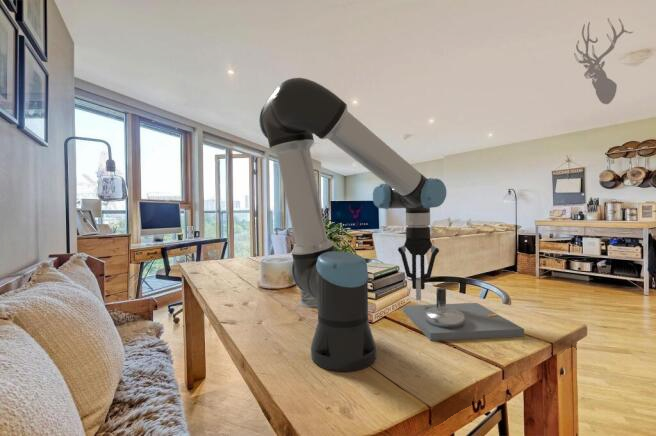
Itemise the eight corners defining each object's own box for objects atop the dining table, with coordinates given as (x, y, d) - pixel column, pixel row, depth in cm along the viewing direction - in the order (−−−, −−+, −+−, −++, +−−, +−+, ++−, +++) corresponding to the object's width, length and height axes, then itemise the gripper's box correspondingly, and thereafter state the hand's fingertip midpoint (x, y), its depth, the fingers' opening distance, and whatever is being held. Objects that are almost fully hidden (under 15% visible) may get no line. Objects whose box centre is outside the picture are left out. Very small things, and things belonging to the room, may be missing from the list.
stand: (430, 340, 77) (430, 332, 77) (403, 311, 99) (403, 304, 99) (524, 336, 79) (524, 327, 79) (476, 308, 101) (476, 301, 101)
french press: (299, 298, 115) (298, 233, 115) (330, 298, 115) (329, 233, 114) (296, 307, 105) (294, 235, 105) (329, 307, 105) (328, 235, 104)
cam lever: (467, 330, 78) (467, 307, 78) (426, 326, 81) (426, 304, 81) (457, 307, 96) (457, 288, 96) (424, 305, 99) (424, 287, 99)
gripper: (438, 225, 99) (439, 297, 100) (398, 225, 103) (398, 294, 104) (440, 227, 92) (440, 304, 92) (396, 227, 96) (397, 300, 96)
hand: (418, 298), depth 98 cm, fingers closed
